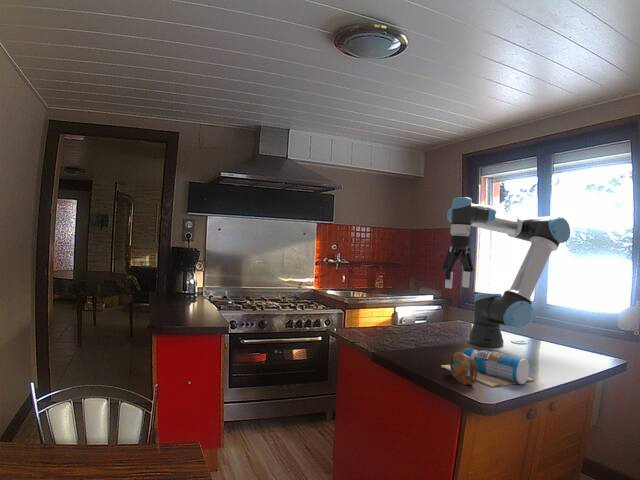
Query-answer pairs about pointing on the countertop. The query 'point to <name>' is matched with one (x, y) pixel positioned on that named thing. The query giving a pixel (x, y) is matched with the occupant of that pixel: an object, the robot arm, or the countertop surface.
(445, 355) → the countertop surface
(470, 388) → the countertop surface
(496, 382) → the beige flat square
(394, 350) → the countertop surface
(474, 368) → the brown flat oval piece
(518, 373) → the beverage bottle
